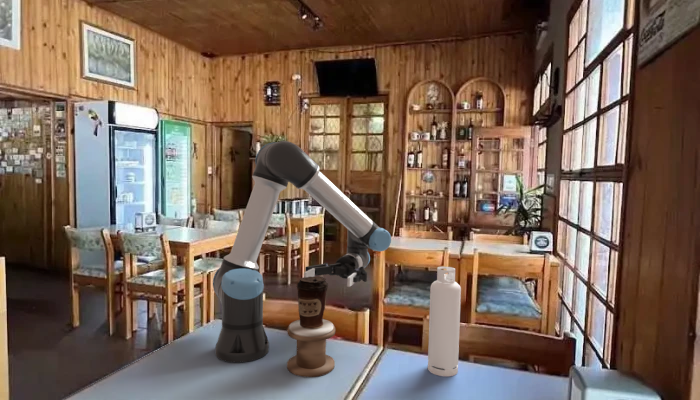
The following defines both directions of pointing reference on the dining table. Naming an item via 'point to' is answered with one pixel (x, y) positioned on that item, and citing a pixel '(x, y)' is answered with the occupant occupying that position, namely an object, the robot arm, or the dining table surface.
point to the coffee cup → (311, 301)
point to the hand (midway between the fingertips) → (326, 279)
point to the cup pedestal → (311, 350)
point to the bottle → (444, 323)
